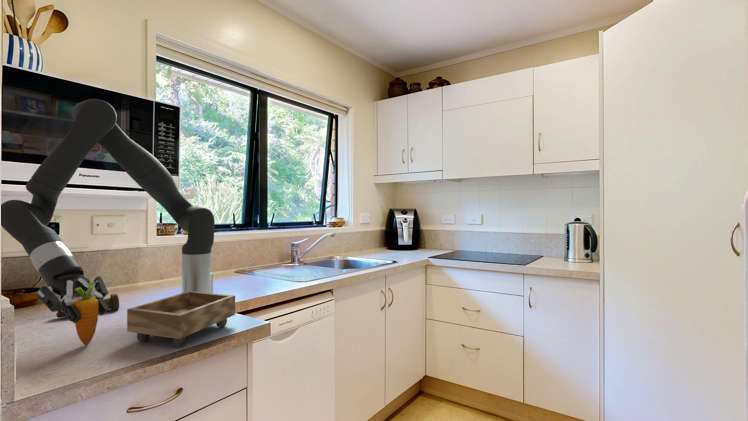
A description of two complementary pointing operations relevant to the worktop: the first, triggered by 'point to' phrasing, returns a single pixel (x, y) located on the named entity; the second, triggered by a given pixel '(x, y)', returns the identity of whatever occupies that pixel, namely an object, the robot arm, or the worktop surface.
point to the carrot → (86, 315)
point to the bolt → (111, 302)
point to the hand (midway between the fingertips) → (91, 316)
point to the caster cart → (180, 315)
